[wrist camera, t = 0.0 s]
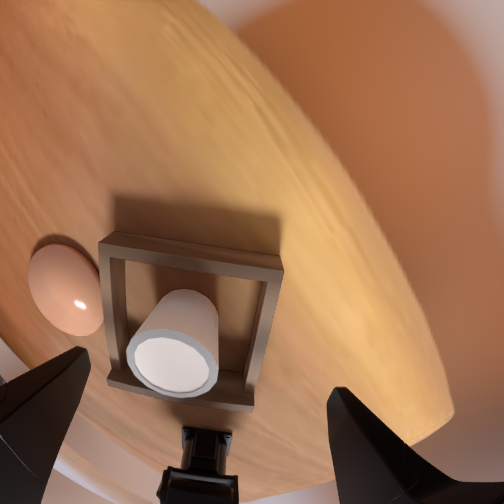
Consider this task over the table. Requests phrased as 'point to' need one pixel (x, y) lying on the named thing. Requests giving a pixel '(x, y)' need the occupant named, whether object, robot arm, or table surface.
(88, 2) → the table surface
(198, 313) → the white cup
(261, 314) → the brown wooden square tray
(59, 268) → the terracotta saucer
